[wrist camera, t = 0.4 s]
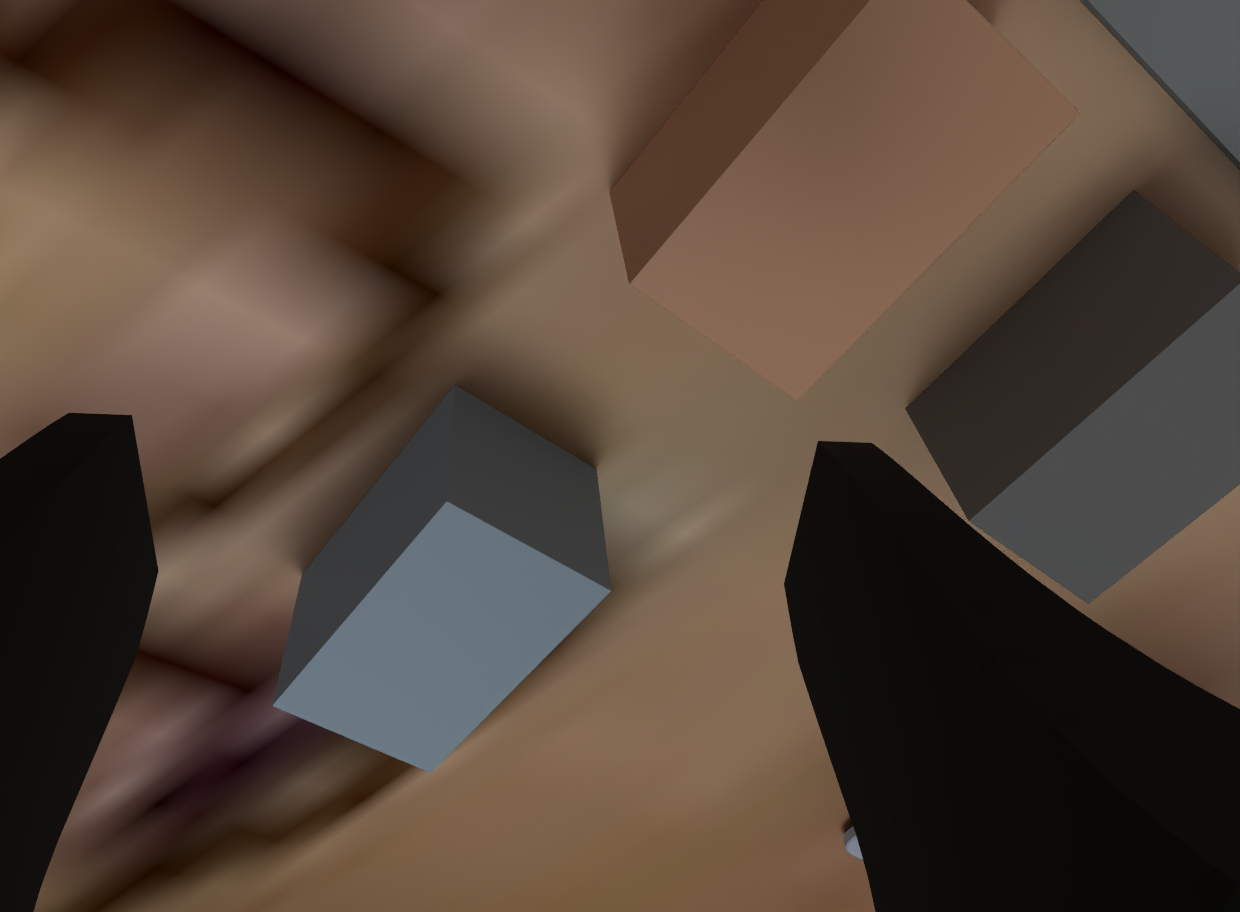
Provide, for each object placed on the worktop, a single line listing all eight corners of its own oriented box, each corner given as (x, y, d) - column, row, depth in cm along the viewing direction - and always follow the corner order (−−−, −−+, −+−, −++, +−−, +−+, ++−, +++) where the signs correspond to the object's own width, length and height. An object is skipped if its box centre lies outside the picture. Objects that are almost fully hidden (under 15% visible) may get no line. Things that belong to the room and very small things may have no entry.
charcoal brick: (1234, 288, 23) (1359, 389, 19) (1011, 484, 25) (1088, 603, 22) (1130, 187, 21) (1246, 277, 18) (903, 406, 24) (968, 521, 20)
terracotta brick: (982, 42, 19) (1080, 113, 16) (752, 294, 22) (797, 401, 18) (838, -97, 18) (913, -52, 15) (608, 189, 20) (629, 284, 17)
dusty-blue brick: (596, 466, 24) (611, 590, 20) (440, 636, 26) (430, 772, 23) (455, 381, 22) (446, 501, 19) (302, 570, 25) (272, 705, 21)
